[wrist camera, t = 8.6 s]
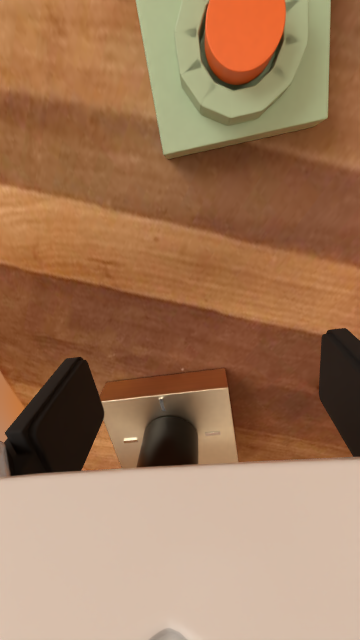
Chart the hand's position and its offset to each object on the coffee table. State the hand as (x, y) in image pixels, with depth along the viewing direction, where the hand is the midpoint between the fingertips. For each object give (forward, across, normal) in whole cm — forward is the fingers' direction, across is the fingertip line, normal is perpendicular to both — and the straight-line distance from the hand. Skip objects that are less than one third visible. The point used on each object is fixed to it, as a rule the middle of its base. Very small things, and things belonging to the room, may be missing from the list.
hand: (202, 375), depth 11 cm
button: (+10, -4, -13) cm, 17 cm away
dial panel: (+13, +5, +14) cm, 20 cm away
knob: (+10, +5, +14) cm, 18 cm away
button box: (+13, -4, -13) cm, 19 cm away
